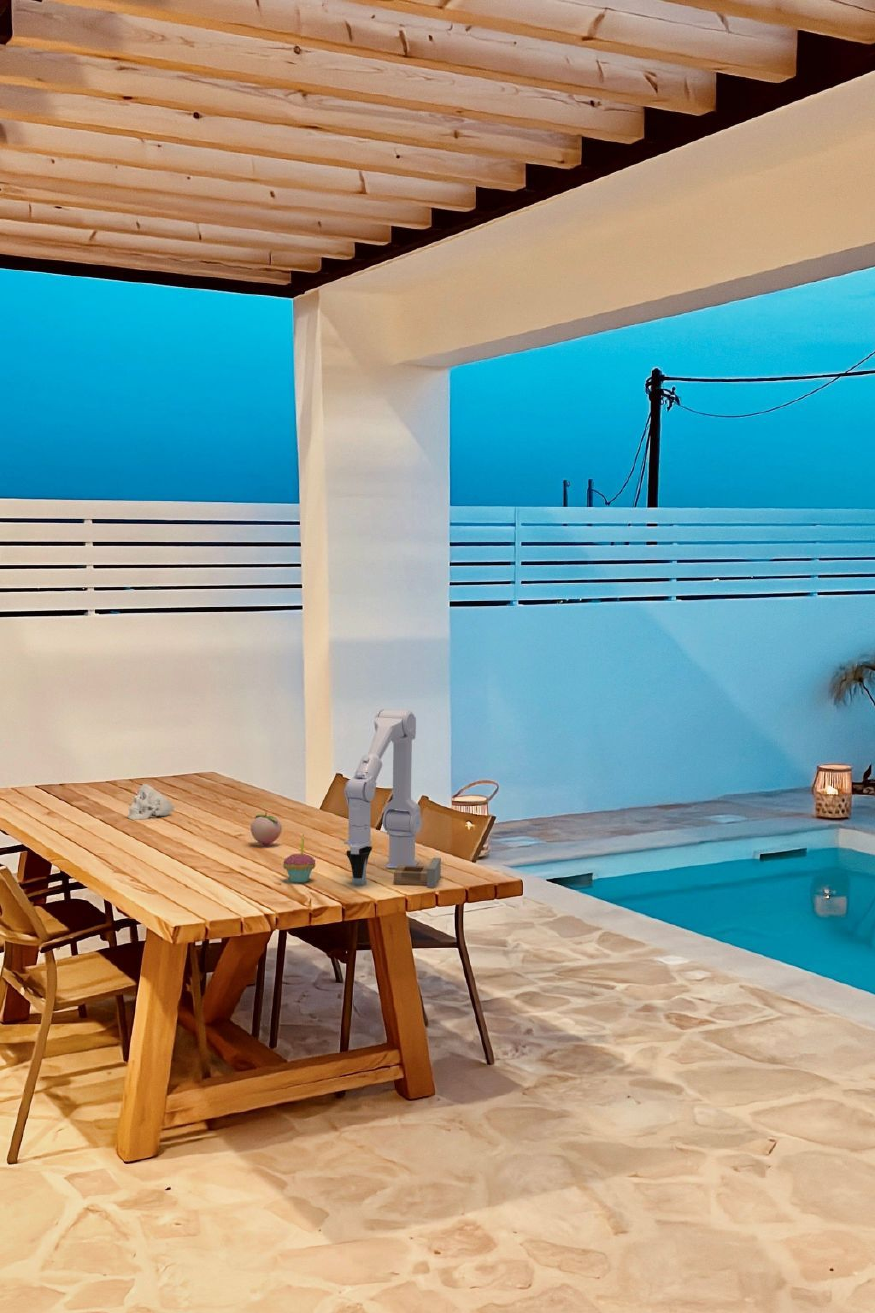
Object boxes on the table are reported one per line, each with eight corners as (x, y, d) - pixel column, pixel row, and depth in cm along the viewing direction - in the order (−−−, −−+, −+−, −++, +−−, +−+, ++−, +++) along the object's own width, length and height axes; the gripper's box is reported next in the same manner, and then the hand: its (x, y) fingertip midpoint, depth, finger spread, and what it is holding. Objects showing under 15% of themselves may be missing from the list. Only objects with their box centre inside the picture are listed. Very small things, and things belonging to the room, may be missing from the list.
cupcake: (292, 876, 353) (293, 831, 352) (321, 879, 350) (321, 834, 349) (277, 882, 345) (277, 837, 344) (306, 885, 342) (306, 839, 341)
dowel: (353, 882, 347) (353, 855, 346) (367, 882, 346) (367, 855, 346) (351, 885, 343) (351, 858, 343) (364, 885, 343) (365, 858, 342)
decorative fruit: (244, 846, 392) (244, 813, 391) (260, 842, 399) (260, 809, 399) (270, 849, 387) (270, 816, 387) (286, 845, 395) (286, 811, 394)
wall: (433, 876, 354) (433, 857, 354) (440, 876, 354) (440, 857, 354) (426, 887, 341) (427, 868, 340) (434, 888, 340) (434, 868, 340)
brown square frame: (398, 876, 353) (398, 865, 353) (432, 877, 352) (432, 866, 352) (393, 883, 344) (393, 872, 344) (428, 885, 343) (428, 873, 343)
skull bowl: (117, 813, 439) (135, 780, 442) (150, 832, 446) (169, 799, 450) (129, 817, 430) (148, 784, 434) (163, 836, 438) (182, 803, 441)
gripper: (349, 819, 351) (349, 870, 352) (339, 829, 337) (338, 882, 338) (375, 820, 351) (375, 870, 351) (366, 830, 336) (366, 883, 337)
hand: (359, 876), depth 344 cm, fingers closed on dowel, 4 cm apart
